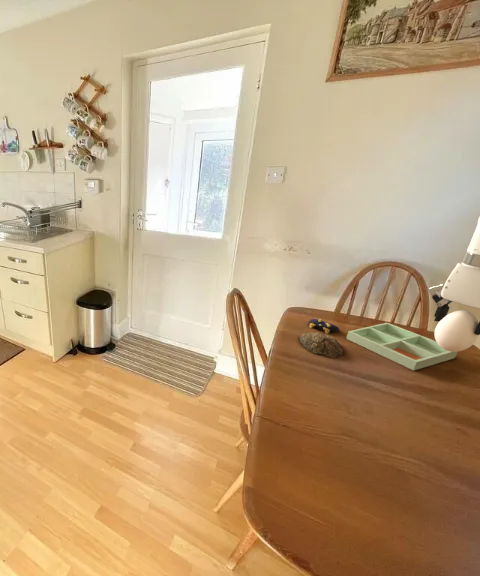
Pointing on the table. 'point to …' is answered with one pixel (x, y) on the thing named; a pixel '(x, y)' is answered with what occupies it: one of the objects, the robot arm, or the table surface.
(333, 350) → the brown rock
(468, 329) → the egg
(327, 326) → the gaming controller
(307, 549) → the table surface
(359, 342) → the divided tray
